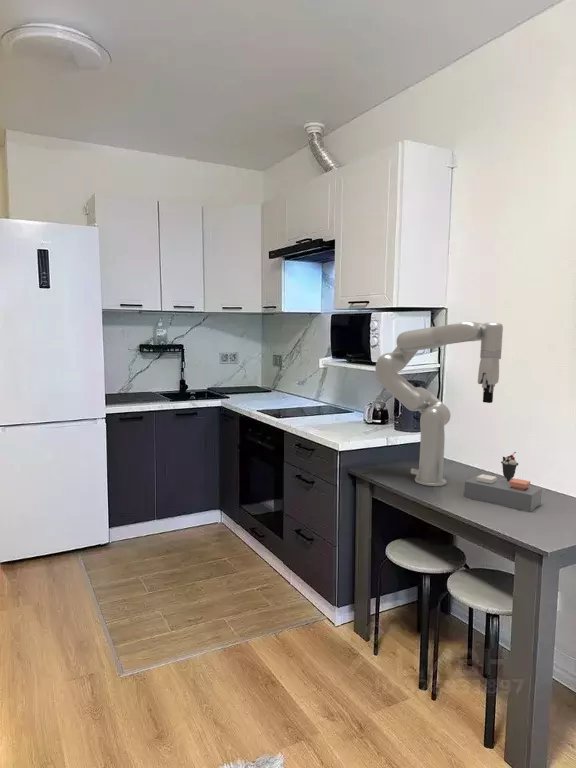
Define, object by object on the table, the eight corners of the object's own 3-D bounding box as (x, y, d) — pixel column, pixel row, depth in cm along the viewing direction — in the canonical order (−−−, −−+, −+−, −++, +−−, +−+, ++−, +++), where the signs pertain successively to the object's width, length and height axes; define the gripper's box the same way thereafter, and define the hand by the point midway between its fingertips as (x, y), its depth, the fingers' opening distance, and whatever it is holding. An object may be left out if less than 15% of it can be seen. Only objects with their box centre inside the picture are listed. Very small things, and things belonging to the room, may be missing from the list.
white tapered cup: (475, 496, 202) (476, 476, 201) (481, 493, 206) (482, 474, 206) (490, 499, 199) (491, 479, 198) (495, 496, 203) (496, 476, 202)
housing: (463, 496, 202) (464, 481, 201) (476, 490, 211) (477, 475, 210) (530, 511, 186) (531, 495, 186) (540, 503, 195) (541, 488, 195)
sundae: (518, 490, 212) (521, 453, 210) (500, 489, 213) (503, 452, 212) (515, 485, 218) (517, 449, 217) (497, 484, 219) (500, 448, 218)
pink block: (508, 501, 194) (509, 481, 194) (513, 497, 199) (514, 478, 198) (524, 504, 191) (525, 484, 190) (529, 501, 195) (530, 481, 194)
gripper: (488, 354, 213) (485, 399, 215) (473, 354, 202) (470, 403, 204) (507, 355, 208) (504, 401, 210) (493, 356, 197) (490, 405, 199)
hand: (487, 402), depth 207 cm, fingers closed
